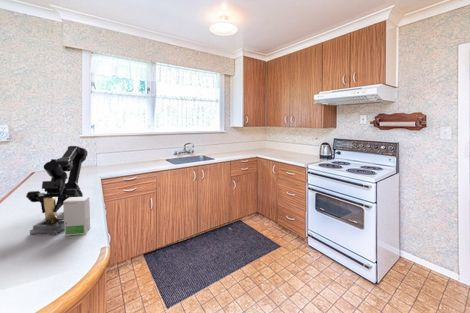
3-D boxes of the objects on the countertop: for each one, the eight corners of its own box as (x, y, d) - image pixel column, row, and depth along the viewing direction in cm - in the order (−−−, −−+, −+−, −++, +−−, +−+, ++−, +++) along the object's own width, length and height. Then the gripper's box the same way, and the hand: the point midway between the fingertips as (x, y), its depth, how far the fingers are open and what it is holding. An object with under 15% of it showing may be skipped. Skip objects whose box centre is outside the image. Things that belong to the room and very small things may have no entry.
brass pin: (44, 225, 100) (41, 198, 98) (55, 222, 104) (52, 195, 102) (48, 227, 98) (45, 199, 96) (59, 224, 102) (56, 197, 100)
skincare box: (64, 236, 96) (61, 201, 94) (71, 229, 102) (68, 196, 100) (86, 234, 98) (83, 200, 96) (91, 227, 104) (89, 195, 102)
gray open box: (30, 234, 97) (29, 224, 96) (47, 225, 105) (46, 216, 105) (58, 235, 97) (57, 225, 96) (72, 225, 106) (71, 216, 105)
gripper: (26, 174, 98) (13, 206, 90) (75, 172, 104) (67, 202, 95) (37, 186, 107) (26, 217, 98) (82, 184, 113) (75, 213, 104)
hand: (49, 212), depth 99 cm, fingers closed on brass pin, 4 cm apart
